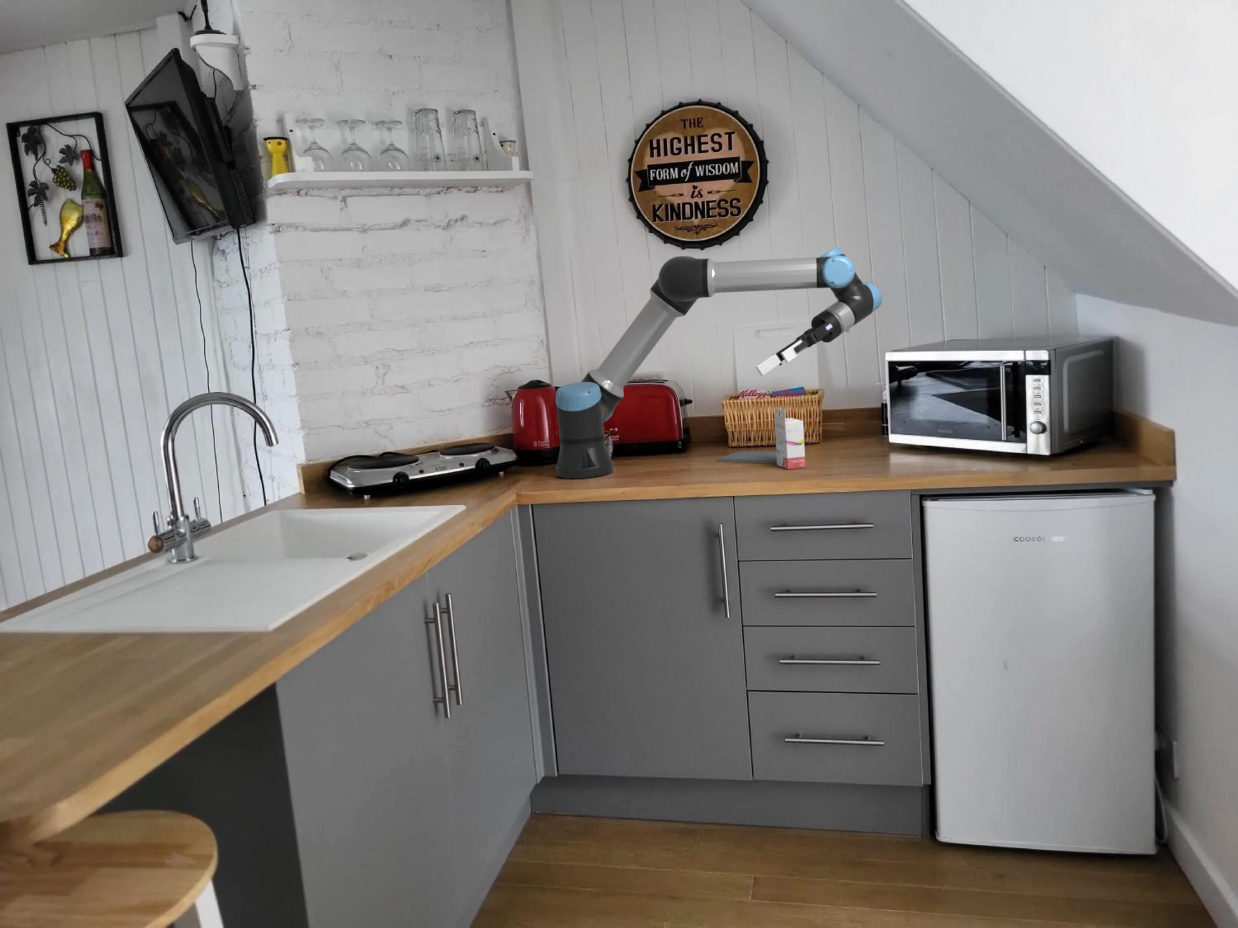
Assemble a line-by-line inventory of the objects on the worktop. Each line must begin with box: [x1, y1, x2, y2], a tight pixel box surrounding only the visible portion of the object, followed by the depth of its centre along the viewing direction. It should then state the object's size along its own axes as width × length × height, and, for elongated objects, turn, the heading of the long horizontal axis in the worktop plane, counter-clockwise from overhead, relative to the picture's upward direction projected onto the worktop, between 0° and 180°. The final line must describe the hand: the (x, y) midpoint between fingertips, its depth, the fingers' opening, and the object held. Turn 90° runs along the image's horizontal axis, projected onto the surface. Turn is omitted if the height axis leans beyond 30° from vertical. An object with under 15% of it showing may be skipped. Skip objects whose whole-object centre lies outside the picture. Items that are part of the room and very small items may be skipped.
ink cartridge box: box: [774, 407, 806, 470], centre depth 263 cm, size 9×5×15 cm, turn 10°
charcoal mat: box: [718, 450, 777, 464], centre depth 280 cm, size 18×12×1 cm, turn 54°
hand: (771, 364), depth 261 cm, fingers open, 13 cm apart
